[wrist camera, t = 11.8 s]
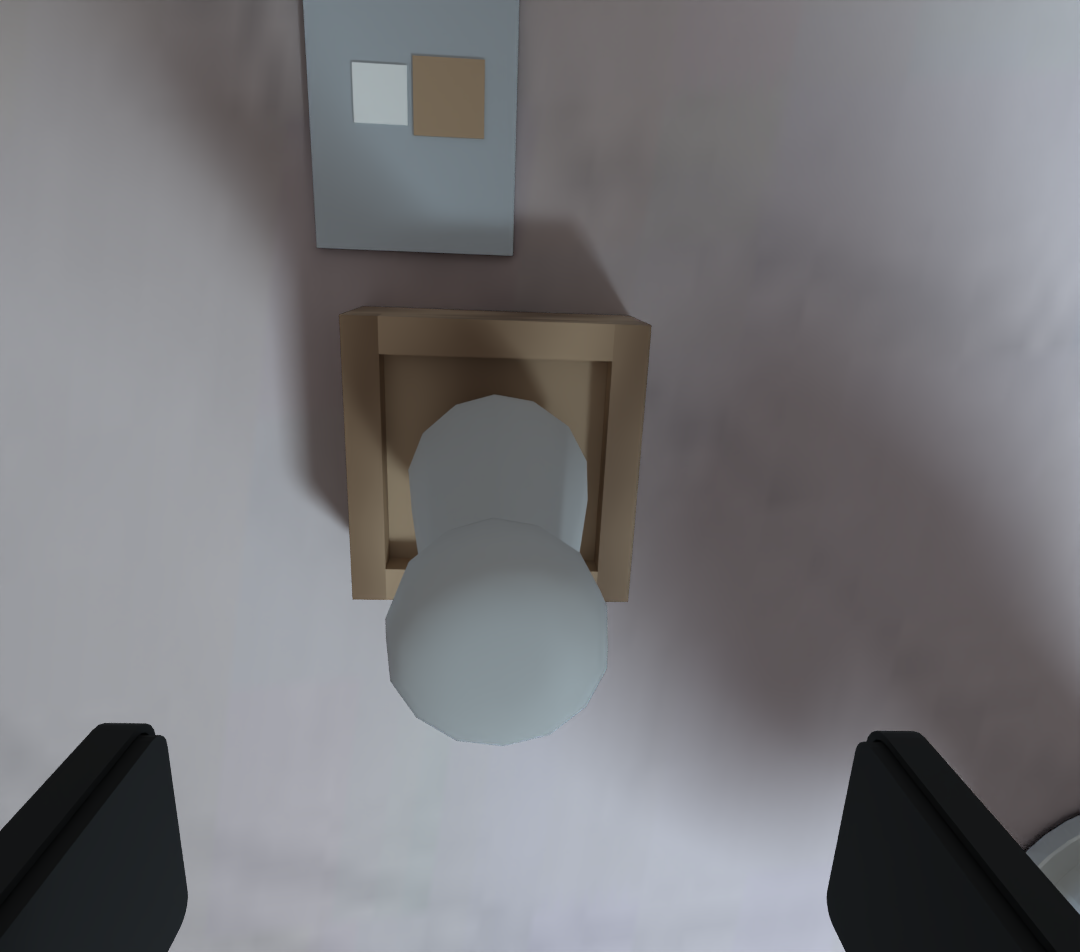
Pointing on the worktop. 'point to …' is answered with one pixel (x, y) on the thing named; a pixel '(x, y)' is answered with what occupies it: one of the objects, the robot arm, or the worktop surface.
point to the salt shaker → (497, 578)
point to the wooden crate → (475, 372)
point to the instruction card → (413, 123)
